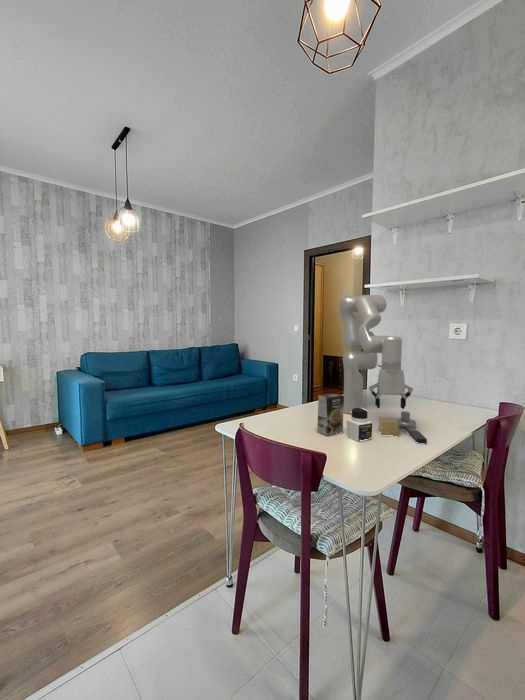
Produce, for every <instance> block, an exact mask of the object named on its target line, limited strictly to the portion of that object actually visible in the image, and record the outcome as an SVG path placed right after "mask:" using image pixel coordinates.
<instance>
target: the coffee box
mask: <svg viewBox="0 0 525 700" xmlns="http://www.w3.org/2000/svg"><path fill="white" fill-rule="evenodd" d="M317 398H318V402H317V403H318V404H317V433H318V432H320V433H322V434H321V435H323V434H324V435H323V436H325V435H327V436H326V437H329V436H328V435H331V436H333V435H332V434H335V435H337V434H336V433H340V432H343V433H344V413H343V409H344V394H339V393H333V392H332V393H325V394H318V397H317ZM320 433H319V434H320ZM340 434H341V433H340Z"/></svg>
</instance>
